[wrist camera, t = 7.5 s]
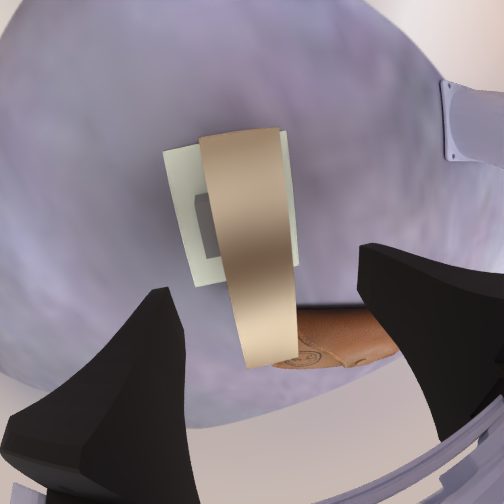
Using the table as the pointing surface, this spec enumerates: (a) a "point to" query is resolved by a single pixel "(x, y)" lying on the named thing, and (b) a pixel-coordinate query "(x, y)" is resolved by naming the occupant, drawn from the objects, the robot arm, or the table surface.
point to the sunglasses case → (338, 339)
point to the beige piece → (254, 239)
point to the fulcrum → (208, 211)
